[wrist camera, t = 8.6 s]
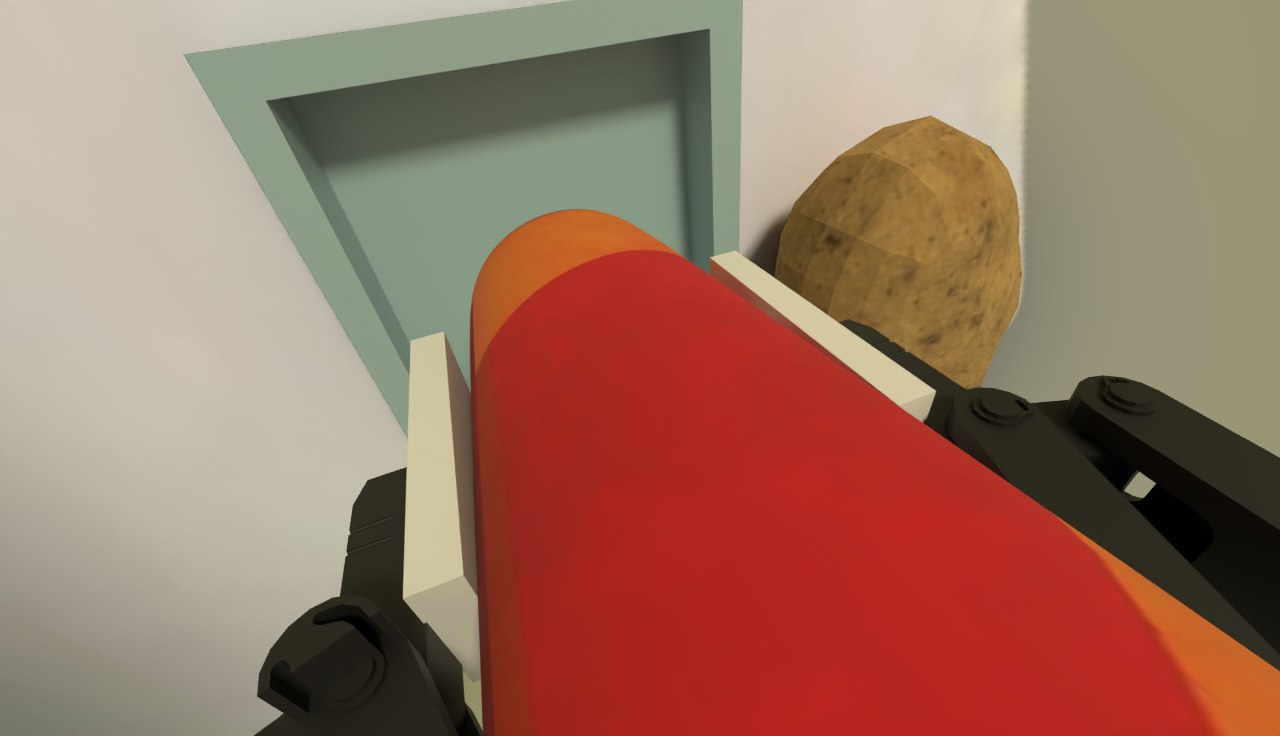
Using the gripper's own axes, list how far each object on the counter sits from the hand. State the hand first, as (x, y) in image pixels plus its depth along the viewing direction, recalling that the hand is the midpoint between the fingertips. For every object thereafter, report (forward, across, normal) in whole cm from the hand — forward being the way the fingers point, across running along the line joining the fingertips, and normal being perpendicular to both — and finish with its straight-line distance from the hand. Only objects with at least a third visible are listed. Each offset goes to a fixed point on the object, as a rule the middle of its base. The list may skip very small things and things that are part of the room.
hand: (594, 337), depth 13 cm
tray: (+7, 0, 0) cm, 7 cm away
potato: (+7, +12, -4) cm, 15 cm away
